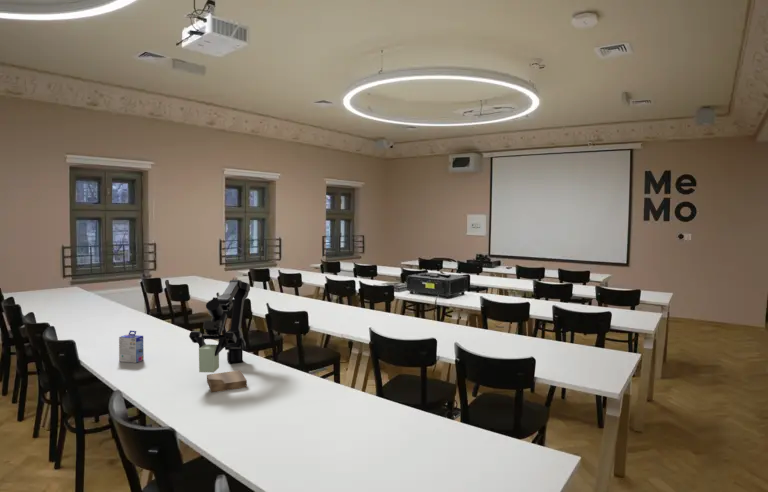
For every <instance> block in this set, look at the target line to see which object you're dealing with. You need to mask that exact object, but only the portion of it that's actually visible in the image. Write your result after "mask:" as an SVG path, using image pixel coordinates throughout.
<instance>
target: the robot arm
mask: <svg viewBox="0 0 768 492" xmlns="http://www.w3.org/2000/svg"><path fill="white" fill-rule="evenodd" d="M250 289H251V286H250V284H249V283H248V282H245V281H242V280H241V279H231V280H229V283H228V285H227V287H226V288H225V290H224V292H223V293H222V294H220V295H218V296H217V297H212V299H210V300H208V301H207V302H206V304H205V308H206V310H207V312H208V314H209V316H211V320H210V321H209V320H208V321H205V320H204V321H203V325H202V329H203V330H204V332H205V333H206V334H203V333H202V332H201V331H198V330H192V331H190V333H189V335H188V337H189V339H190V340H191V342H192V343H193V344H197V345H198V349H199V348H200V347H202V346H203V345H205V344H206V342H205V340H218V342H217V344H216V345H217V348H216V351H215V356H217V355H218V354H219V355H220V353H221V352H222V350H223V349H225V351H227V353H226V361H227V362H228V364H230V365H231V364H232V365H233V364H238V363H239V364H241V363H244V360H243V358H244V357H243V354H244V353H243V351H244V350H246V341H245V339H244V335H243V332H242V330H241V328H242V320H243V311H244V304H245V301H246V300H247V298H248V296H249V292H250V291H251V290H250ZM233 300H234V301H233ZM231 309H232V315H231V320H230V321H231V322H230V328H229V330H227V331H225V328H224V327H225V322H226V320H227V319H228V315H227V312H230V311H231ZM223 331H224V333H223V334H222V332H223Z"/></svg>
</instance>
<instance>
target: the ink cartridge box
mask: <svg viewBox="0 0 768 492" xmlns="http://www.w3.org/2000/svg"><path fill="white" fill-rule="evenodd" d="M144 355H145V354H144V335H139V334H137V330H129V332H128V334H125V335H120V336H119V337H118V361H119V362H120V363H121V362H122V363H134V364H136V363H139V362H141V361H144Z"/></svg>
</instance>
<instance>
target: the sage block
mask: <svg viewBox="0 0 768 492" xmlns="http://www.w3.org/2000/svg"><path fill="white" fill-rule="evenodd" d="M217 345H218V344H210V343H209V344H207V343H205V345H203V346H202V347H200V348H199V347H198V368H199V369H198V371H199V373H211V374H215V372H217V370H218V369H219V368H220V353H219V354H218V355H217V356H215V351H216V348H217Z"/></svg>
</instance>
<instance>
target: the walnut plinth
mask: <svg viewBox="0 0 768 492" xmlns="http://www.w3.org/2000/svg"><path fill="white" fill-rule="evenodd" d="M247 381H248V380H247V378H246V377H245V375H244V373H243V372H242V371H241V369H239V370H238V369H237V370H231V371H226V372H225V371H224V372H218V373H211V374H206V383H207V385H208V388H209V390H210V393H211V394H212V393H218V392H226V391H232V390H239V389H244V388H248V386H247V385H248V382H247Z"/></svg>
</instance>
